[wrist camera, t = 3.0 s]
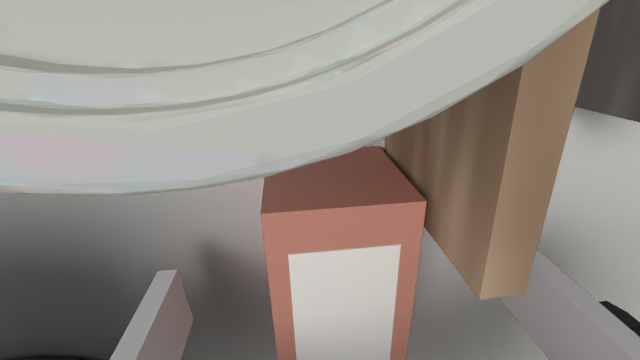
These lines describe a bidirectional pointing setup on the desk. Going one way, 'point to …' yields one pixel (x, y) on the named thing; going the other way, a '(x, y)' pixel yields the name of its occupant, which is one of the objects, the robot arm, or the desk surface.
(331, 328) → the red box
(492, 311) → the desk surface
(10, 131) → the coffee cup
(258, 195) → the desk surface
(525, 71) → the shelf
